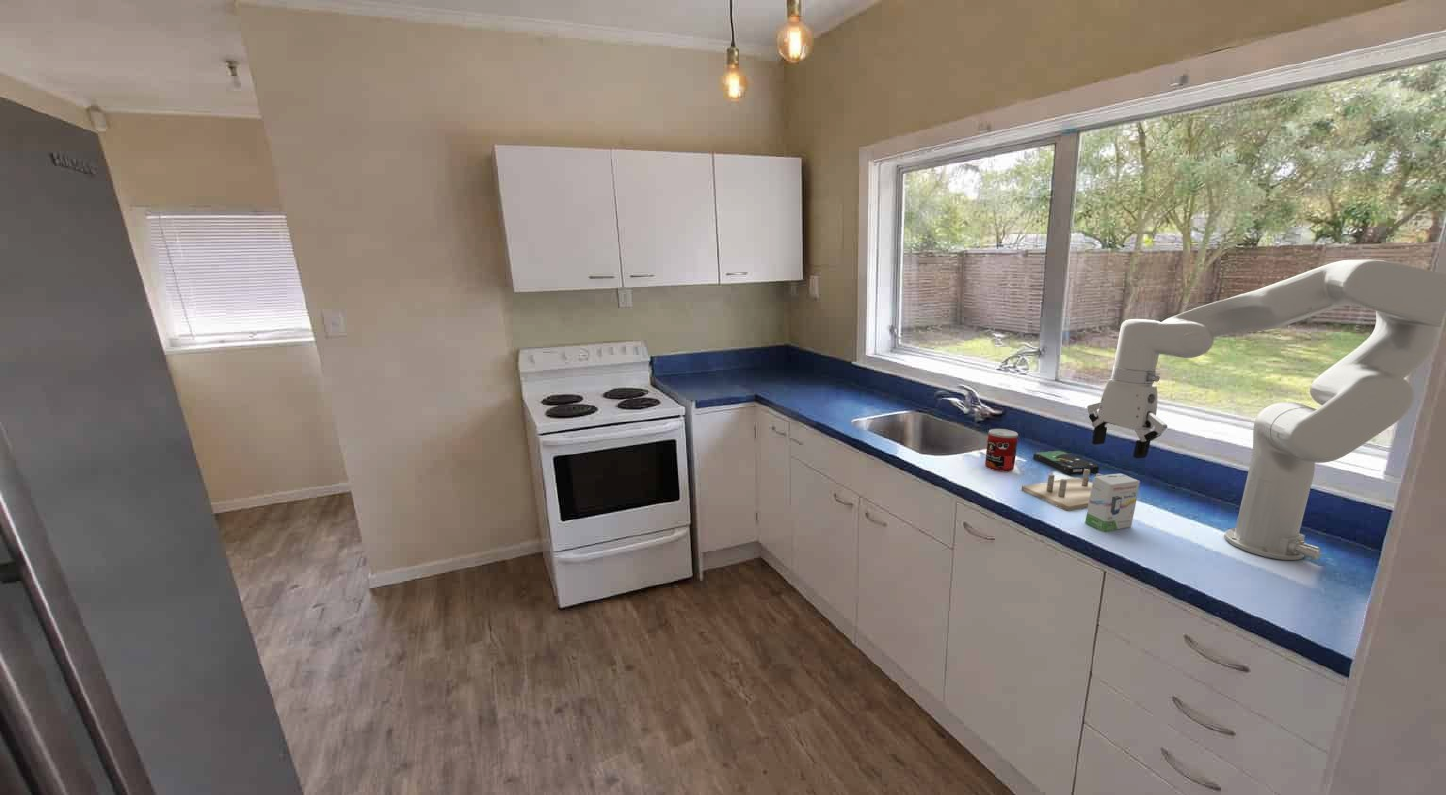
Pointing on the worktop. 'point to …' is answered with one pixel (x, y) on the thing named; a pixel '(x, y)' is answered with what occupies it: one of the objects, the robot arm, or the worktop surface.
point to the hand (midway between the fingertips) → (1118, 450)
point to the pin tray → (1064, 491)
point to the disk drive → (1065, 462)
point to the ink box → (1112, 502)
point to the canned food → (1001, 449)
